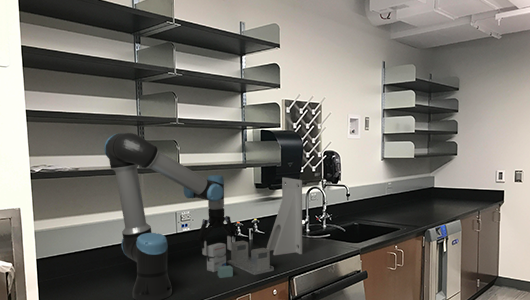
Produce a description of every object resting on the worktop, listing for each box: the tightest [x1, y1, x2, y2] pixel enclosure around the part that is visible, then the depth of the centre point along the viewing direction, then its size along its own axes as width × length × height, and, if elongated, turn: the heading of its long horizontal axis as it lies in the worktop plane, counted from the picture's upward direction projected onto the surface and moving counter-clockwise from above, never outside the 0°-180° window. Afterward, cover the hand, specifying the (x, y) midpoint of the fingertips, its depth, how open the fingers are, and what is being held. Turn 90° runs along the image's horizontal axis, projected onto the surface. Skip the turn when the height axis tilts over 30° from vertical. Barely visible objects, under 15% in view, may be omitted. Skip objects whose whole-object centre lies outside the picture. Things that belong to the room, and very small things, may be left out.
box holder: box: [226, 240, 275, 276], centre depth 203 cm, size 11×24×10 cm, turn 36°
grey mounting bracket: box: [265, 177, 303, 256], centre depth 230 cm, size 20×14×40 cm
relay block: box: [217, 265, 234, 279], centre depth 189 cm, size 6×4×4 cm, turn 111°
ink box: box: [206, 242, 227, 273], centre depth 199 cm, size 8×5×12 cm, turn 141°
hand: (217, 252), depth 199 cm, fingers open, 13 cm apart
